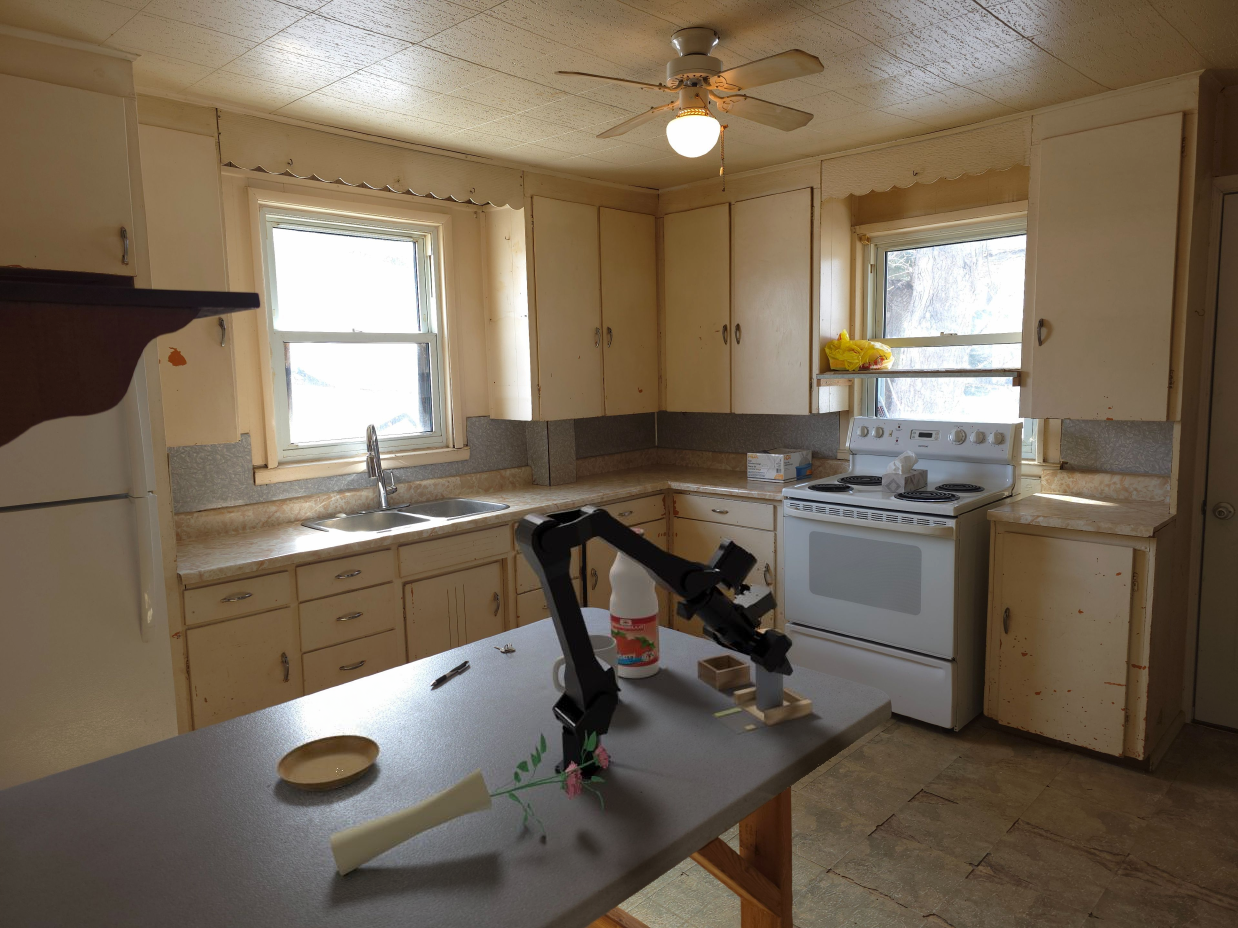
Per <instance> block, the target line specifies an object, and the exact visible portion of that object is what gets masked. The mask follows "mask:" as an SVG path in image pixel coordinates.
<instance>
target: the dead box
mask: <svg viewBox="0 0 1238 928" xmlns="http://www.w3.org/2000/svg"><path fill="white" fill-rule="evenodd" d="M697 679H699V680H701V681H702V682H703V683H705V684H707V685H708V686H710V687H712V688H713V689H714V690H716V691H718V692H719V691H723V690H728V689H730V688H731V689H732V688H735V687H739V686H743V685H748V684H750V683H751V664H749V663H747V662H745V661H744V660H742V659H740V658H738V657H736V656H734V655H733V654H731V653H729V652H728V653H723V654H720V655H715V656H710V657H706V658H703V659H702V658H701V659H697Z"/></svg>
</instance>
